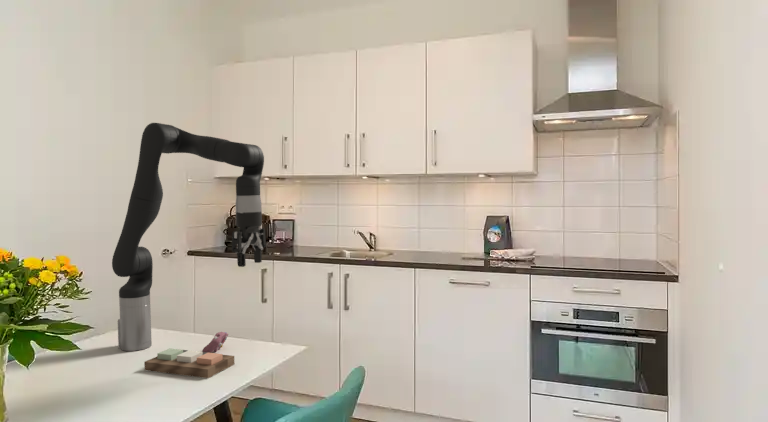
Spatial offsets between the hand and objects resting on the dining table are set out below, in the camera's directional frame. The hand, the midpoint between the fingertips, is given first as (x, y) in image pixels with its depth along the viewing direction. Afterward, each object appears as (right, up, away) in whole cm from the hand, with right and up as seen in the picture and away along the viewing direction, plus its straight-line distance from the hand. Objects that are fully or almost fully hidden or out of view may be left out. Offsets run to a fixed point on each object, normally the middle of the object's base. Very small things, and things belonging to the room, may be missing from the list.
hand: (250, 264), depth 155 cm
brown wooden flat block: (-16, -30, -5) cm, 34 cm away
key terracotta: (-10, -28, -7) cm, 30 cm away
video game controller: (-14, -29, +11) cm, 34 cm away
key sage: (-23, -28, -2) cm, 36 cm away
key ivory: (-16, -28, -5) cm, 33 cm away
